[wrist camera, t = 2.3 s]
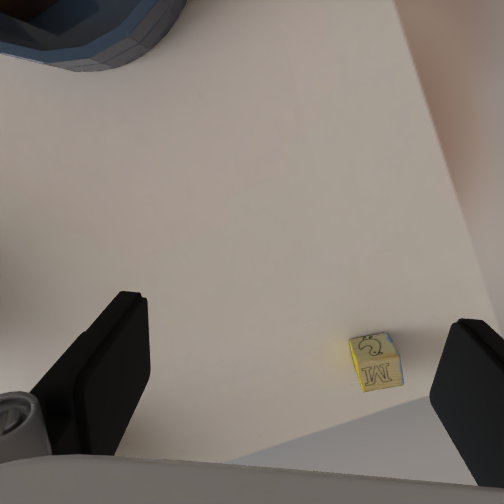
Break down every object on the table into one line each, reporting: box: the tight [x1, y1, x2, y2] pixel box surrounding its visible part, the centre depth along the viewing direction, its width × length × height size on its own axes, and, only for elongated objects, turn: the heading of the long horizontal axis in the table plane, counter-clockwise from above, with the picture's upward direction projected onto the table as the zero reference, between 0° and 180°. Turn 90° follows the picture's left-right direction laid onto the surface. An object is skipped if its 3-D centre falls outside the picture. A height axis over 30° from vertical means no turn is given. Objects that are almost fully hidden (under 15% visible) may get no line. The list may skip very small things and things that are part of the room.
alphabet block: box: [349, 333, 404, 392], centre depth 27 cm, size 3×3×3 cm
